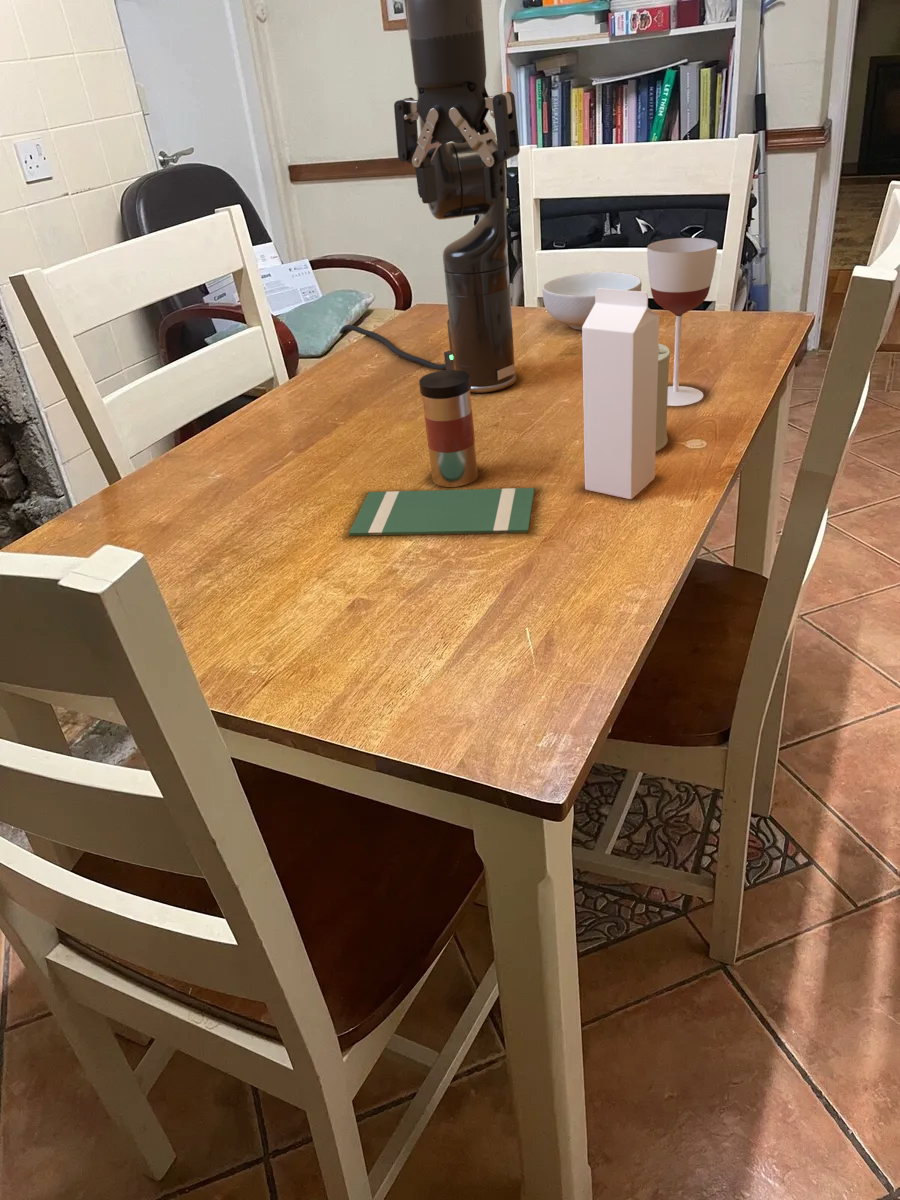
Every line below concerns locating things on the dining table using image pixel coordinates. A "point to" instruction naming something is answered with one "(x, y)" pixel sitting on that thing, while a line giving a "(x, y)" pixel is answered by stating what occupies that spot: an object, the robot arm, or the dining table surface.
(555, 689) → the dining table surface
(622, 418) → the milk
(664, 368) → the can
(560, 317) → the cereal bowl
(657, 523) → the dining table surface
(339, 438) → the dining table surface
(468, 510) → the towel
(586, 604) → the dining table surface
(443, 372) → the jar
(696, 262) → the wineglass
